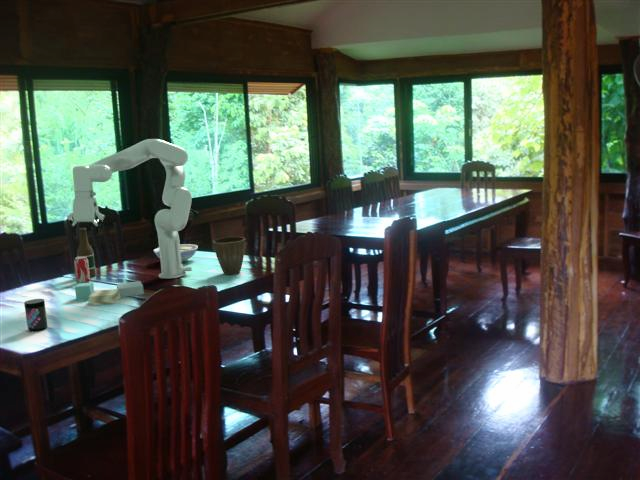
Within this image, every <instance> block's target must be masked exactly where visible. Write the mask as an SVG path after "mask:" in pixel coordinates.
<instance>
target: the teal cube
mask: <svg viewBox="0 0 640 480" xmlns="http://www.w3.org/2000/svg"><path fill="white" fill-rule="evenodd" d="M74 291H75V299H76V300H75V301H86V300H88V301H89V296H90V295H91V294H92V293H93V292H94V291H95V286H94V282H88V283H78V284H76V285H75V286H74Z"/></svg>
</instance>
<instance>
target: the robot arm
mask: <svg viewBox="0 0 640 480" xmlns="http://www.w3.org/2000/svg"><path fill="white" fill-rule="evenodd" d="M150 159H159V161H160V163H161V164H162V166H163V167H164V169H165V172H166V178H165V183H164V186H163V187H164V188H163V192H162V200H161V201H162V203H163V204H164V205H166V206H168V207H170V209H169V208H163V209H160V210H158V211H157V213H156V214H155V215H154V225H155V229H156V232H157V239H158V248H159V250H160V258H159V260H160V269H161V273H159V274H158V278H160V279H163V280H165V279H166V280H167V279H176V278H181V277H182V278H183V277H184V276H186V275H187V272H192V271H193V269H192V266H184V264H183V262H182V263H181V252H180V244H181V243H180V241H181V240H180V235H179V231H182V230H183V229H185V227H186V226H187V223H188V221H189V216H190V210H191V206H192V193H191V191H190V190H189V189H188V188H186V187H185V180H186V171H185V168H184V165H185V164H186V163H187V162H188V159H189V155H188V153H187V151H186V150H185V149H184V147H181V146H178V145H175V144H173V143H170V142H168V141H165V140H163V139H159V138H147V139H144V140H142V141H139V142H138V143H135V144H134V145H131V146H129V147H127V148H125V149H123V150H121V151H118V152H116V153H113V154H111V155H108V156H106V157H104V158H101V159H99V160H97V161H95V162H93V163H91V164H89V165H76V166H74V167H73V168H72V180H73V188H74V189H73V190H74V192H73V193H74V198H73V203H72V212H71V213H70V214H68V215H67V216H66V218H67V220H68V222H69V223H70V225H71V226H72V227H73V228H72V229H73V234H74V236H76V237H77V236H79V235H80V228H81V227H80V225H79V224H80V223H92V224H93V225H94V226H93V230H94V236H96V237H97V236H100V235H101V225H102V224H103V222H104V220H105V218H106V216H105V214H102V213H101V212H100V211H99V205H98V201H97V199H96V197H95V196H96V195H97V193H96V192H94V186H93V185H94V182H96V183H106V182H108V181H110V179H111V178H112V177H113V173H117V172H122V171H126V170H131V169H133V168H135V167H137V166H139V165H140V164H142V163H145V162H146V161H149V160H150Z"/></svg>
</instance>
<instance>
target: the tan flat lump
mask: <svg viewBox="0 0 640 480" xmlns="http://www.w3.org/2000/svg"><path fill="white" fill-rule="evenodd" d="M120 298H121V297H120V289H117V288H113V289H112V288H111V289H99V290H94V292H93V293H92V294H91V295H90V296H89V300H88V302H89V303H88V304H89V306H97V305H99V306H100V305H101V306H102V305H115V304H116V303H117V302H118V301H119V300H120Z"/></svg>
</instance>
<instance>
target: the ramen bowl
mask: <svg viewBox="0 0 640 480" xmlns="http://www.w3.org/2000/svg"><path fill="white" fill-rule="evenodd" d="M198 246H199V245H197V244H193V243H192V244H191V243H188V244H187V243H183V244H181V243H180V252H181V263H182V264H183V263H184V262H186V261H187V260H189V259H191V258H192V257H193V256H194V255H195V254H196V252H197V250H198ZM153 252H154V254H155V255H156V256H157V258H159V259H160V250H159V247H157V248H155V249H153Z"/></svg>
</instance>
